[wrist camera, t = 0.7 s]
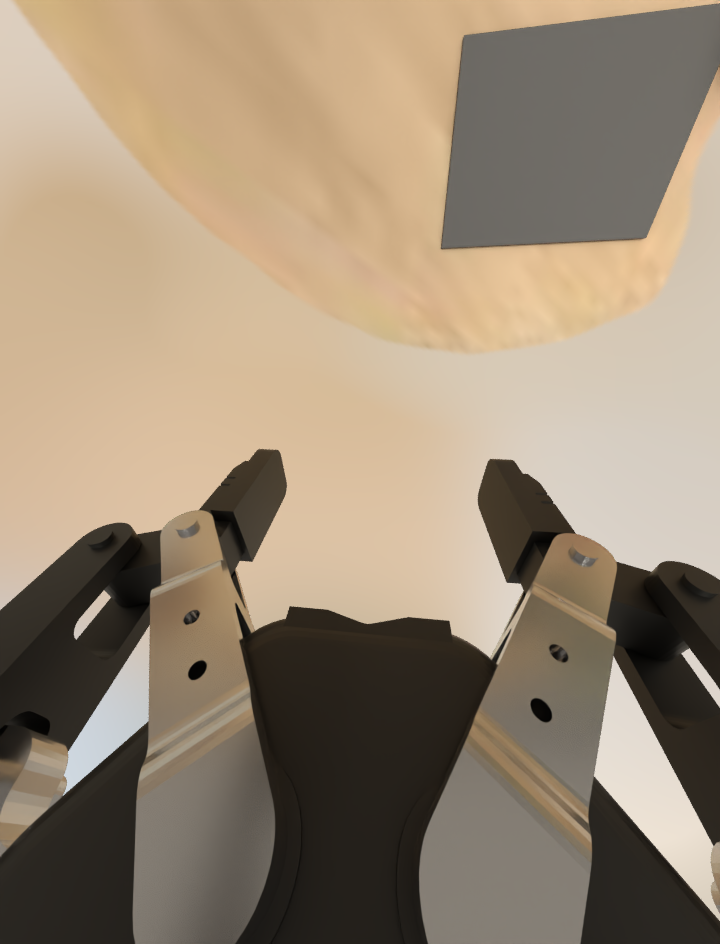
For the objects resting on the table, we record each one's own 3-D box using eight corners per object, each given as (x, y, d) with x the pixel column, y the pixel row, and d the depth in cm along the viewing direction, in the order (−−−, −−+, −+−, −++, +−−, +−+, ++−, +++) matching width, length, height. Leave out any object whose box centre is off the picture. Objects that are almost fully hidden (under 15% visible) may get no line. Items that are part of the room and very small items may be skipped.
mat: (462, 39, 20) (464, 35, 20) (740, 5, 18) (746, 0, 18) (441, 248, 27) (441, 248, 27) (642, 238, 25) (646, 237, 25)
